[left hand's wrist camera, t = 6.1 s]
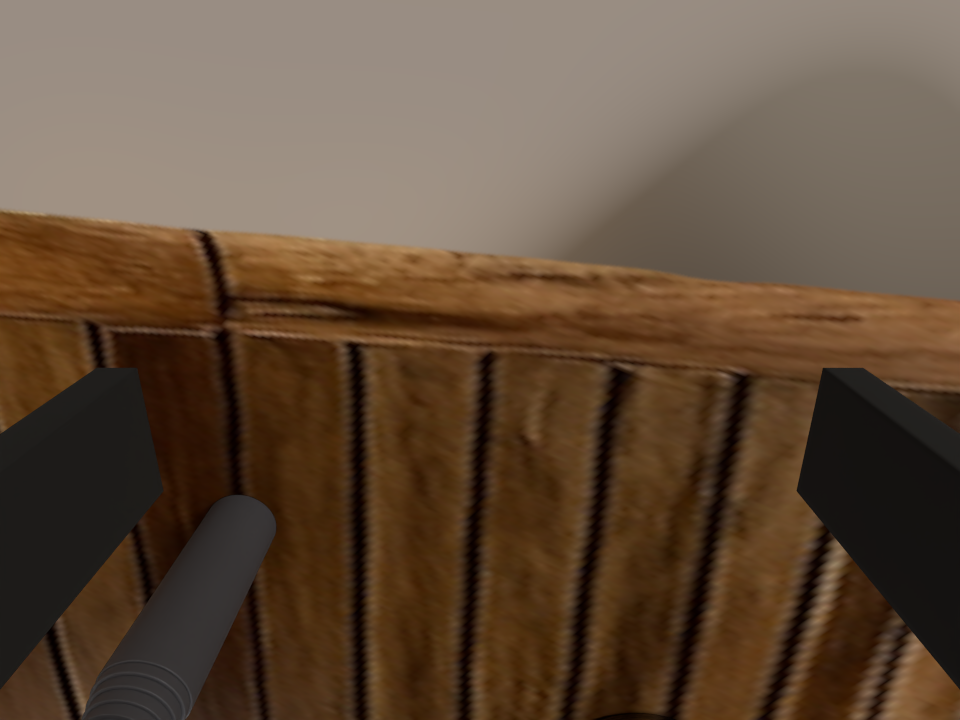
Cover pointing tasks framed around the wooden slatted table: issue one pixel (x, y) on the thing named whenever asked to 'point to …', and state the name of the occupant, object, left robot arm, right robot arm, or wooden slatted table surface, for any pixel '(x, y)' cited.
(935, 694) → the wooden slatted table surface
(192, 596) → the bottle
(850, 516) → the left robot arm
